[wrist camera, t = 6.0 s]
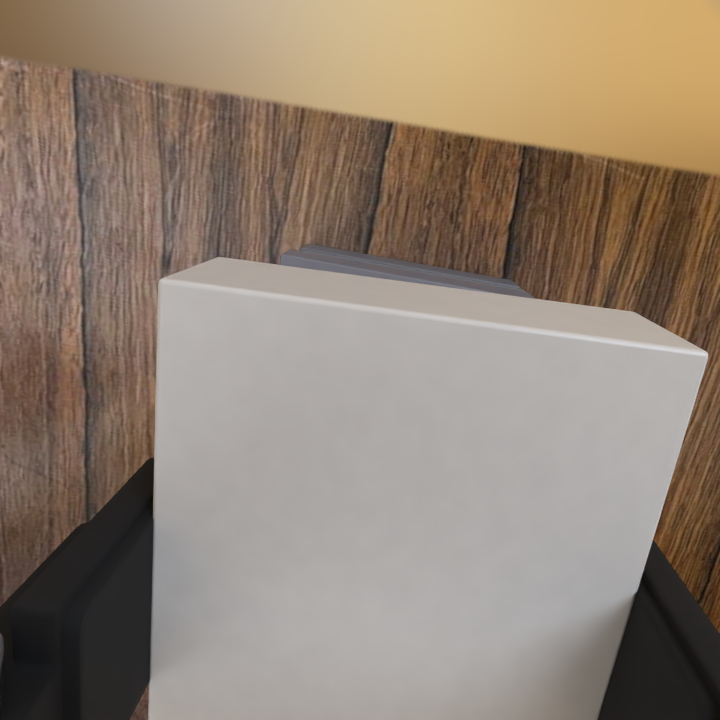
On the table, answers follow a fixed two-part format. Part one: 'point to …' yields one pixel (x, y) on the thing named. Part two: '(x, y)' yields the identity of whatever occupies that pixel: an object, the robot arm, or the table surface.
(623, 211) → the table surface
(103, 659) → the robot arm
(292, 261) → the grey books
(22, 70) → the table surface
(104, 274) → the table surface
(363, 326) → the off-white flat block
